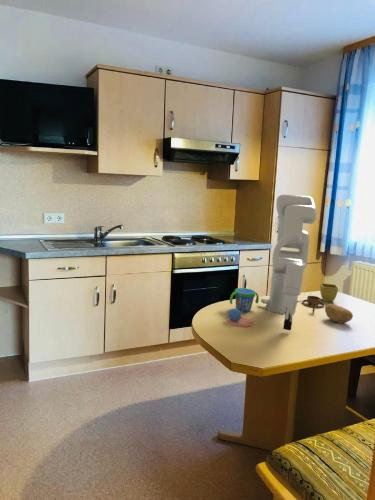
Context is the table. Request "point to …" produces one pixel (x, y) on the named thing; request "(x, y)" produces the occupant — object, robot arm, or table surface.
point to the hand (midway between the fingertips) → (287, 329)
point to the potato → (338, 313)
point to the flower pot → (328, 291)
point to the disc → (241, 322)
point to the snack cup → (244, 298)
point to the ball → (234, 315)
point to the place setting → (313, 302)
